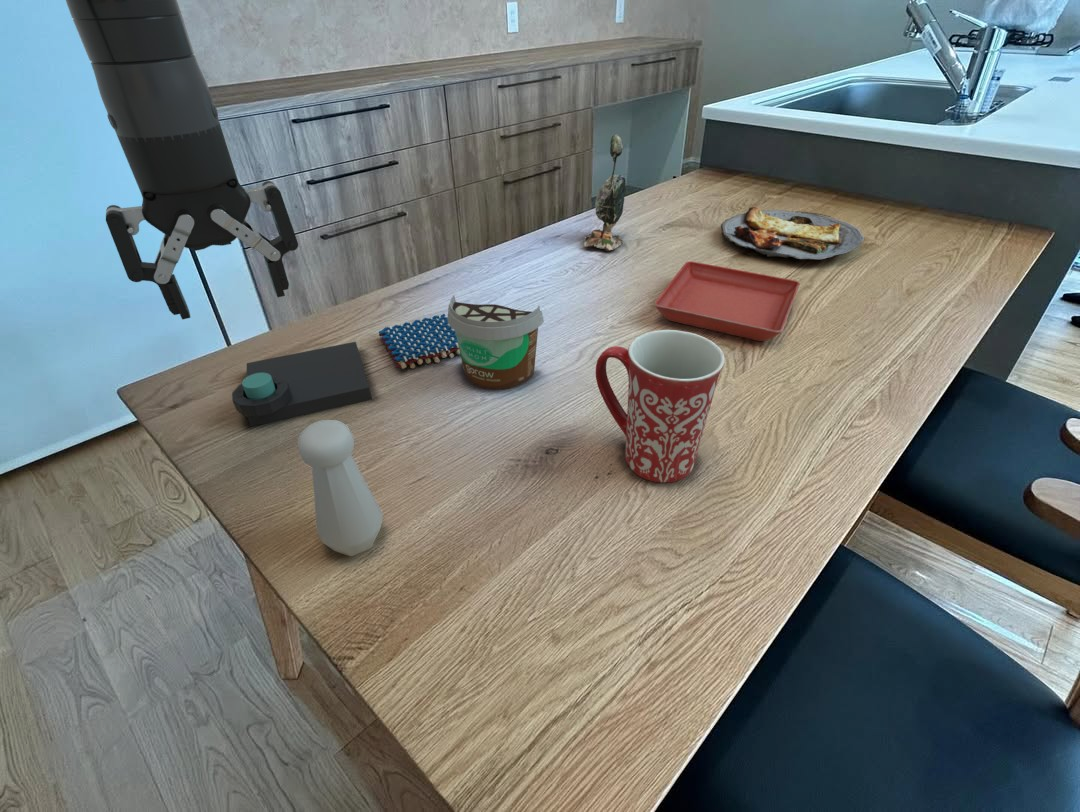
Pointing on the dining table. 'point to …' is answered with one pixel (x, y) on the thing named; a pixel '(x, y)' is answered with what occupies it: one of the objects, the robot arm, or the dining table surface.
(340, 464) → the salt shaker
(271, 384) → the button
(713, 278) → the plant saucer
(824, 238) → the food plate
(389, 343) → the woven mat
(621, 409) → the mug
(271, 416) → the scale
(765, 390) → the dining table surface
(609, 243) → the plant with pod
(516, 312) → the food container
